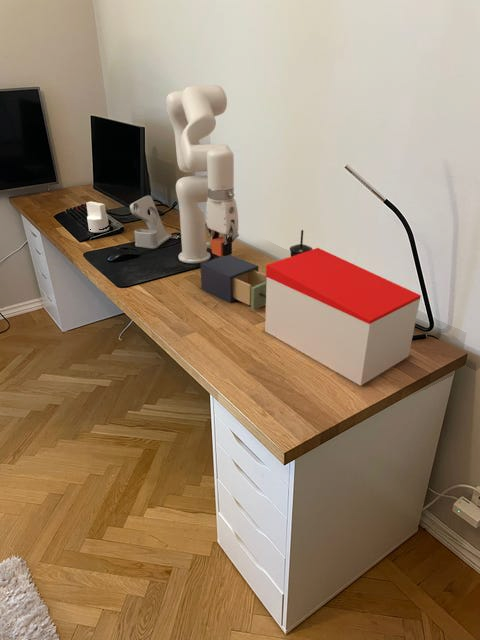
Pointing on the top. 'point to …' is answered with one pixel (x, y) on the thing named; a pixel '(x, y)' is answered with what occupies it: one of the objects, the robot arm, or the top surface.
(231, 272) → the cabinet
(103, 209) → the base with upright slab
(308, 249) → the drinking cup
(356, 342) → the red-lidded white box
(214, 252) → the block
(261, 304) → the drawer
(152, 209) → the phone holder
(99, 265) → the top surface
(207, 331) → the top surface
